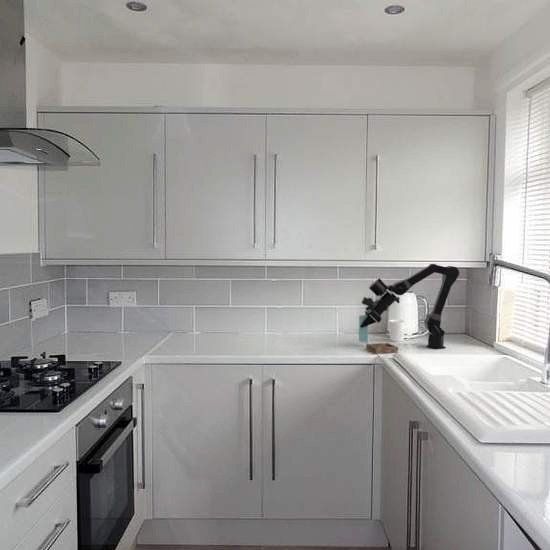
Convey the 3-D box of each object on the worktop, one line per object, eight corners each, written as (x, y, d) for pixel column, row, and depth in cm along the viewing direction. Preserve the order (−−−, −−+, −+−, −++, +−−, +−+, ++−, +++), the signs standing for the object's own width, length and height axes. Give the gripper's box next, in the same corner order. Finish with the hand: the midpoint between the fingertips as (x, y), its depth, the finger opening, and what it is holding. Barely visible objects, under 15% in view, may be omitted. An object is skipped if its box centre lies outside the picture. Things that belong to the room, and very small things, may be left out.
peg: (366, 340, 249) (366, 315, 248) (367, 341, 245) (367, 316, 244) (359, 340, 249) (359, 315, 249) (359, 341, 245) (360, 316, 244)
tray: (387, 348, 244) (387, 343, 244) (397, 352, 234) (398, 347, 234) (366, 349, 241) (366, 344, 241) (375, 354, 231) (375, 348, 231)
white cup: (404, 339, 265) (405, 320, 265) (404, 342, 258) (404, 322, 257) (389, 338, 267) (389, 319, 267) (388, 341, 260) (388, 321, 259)
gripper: (369, 289, 255) (346, 311, 256) (374, 293, 236) (349, 317, 237) (385, 305, 254) (363, 327, 256) (391, 310, 236) (367, 334, 237)
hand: (360, 326), depth 247 cm, fingers closed on peg, 4 cm apart
